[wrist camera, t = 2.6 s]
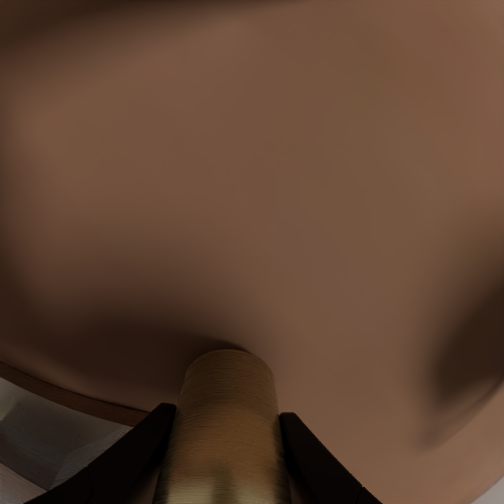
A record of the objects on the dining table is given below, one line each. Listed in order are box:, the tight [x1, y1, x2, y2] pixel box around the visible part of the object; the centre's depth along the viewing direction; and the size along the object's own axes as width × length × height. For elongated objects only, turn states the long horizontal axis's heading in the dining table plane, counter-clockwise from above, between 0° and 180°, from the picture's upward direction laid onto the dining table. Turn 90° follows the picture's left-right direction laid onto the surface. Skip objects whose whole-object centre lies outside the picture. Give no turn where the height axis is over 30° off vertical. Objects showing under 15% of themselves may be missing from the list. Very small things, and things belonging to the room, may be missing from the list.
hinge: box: [0, 362, 149, 504], centre depth 7 cm, size 15×12×7 cm
